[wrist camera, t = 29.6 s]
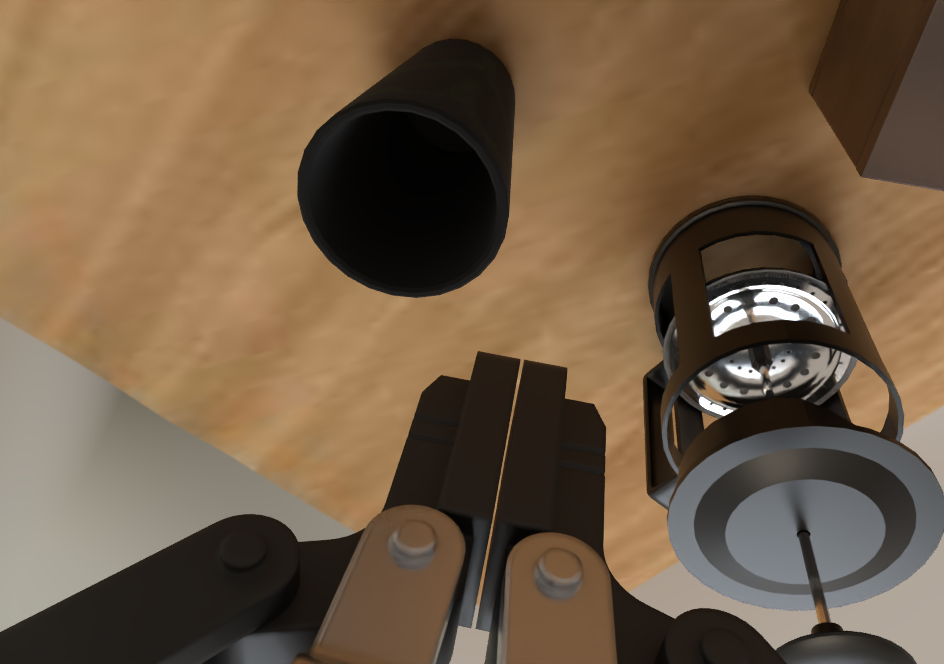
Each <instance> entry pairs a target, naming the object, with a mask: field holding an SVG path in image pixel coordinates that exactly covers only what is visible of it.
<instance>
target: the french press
mask: <svg viewBox="0 0 944 664" xmlns="http://www.w3.org/2000/svg"><path fill="white" fill-rule="evenodd" d="M755 234H757V235H776V236H781V237H785V238H790V239H794V240H796V241H798V242H799V243H800V244H801V245H802V246H803V247H804V248H805V250H806V251H807V252H808V254H809V256H810V258H811V260H812V264H813V267H814V276H812V275H809V274H806V273H803V272H800V271H795V270H790V269H785V268H770V267H761V268H752V269H744V270H740V271H736V272H732V273H728V274H725V275H723V276H720V277H718V278H715V279H713V280H711V281H709V282H707V283H706V280H705V275H704V269H703V263H702V257H701V250H703V249H705V248H707V247H709V246H712V245H714V244H716V243H718V242H721V241H724V240H728V239H731V238H734V237H740V236H748V235H755ZM648 289H649V297H650V303H651V306H652V308H653V311H654V317H655V325H656V332H657V335H658V337H659V340H660V343H661V345H662V347H663V359H664V360H662V361H661V362H660V363H659V364H657V365H656V366H655V367H654V368H653V369H651V370H650V371H649V372H648V373H647V374H646V375H645V376H644V378H643V399H644V427H645V455H646V483H647V494H648V495H649V496H650V497H651V498H652V499H653V500H655V501H656V502H657V503H659V504H660V505H662V506H663V507H664V508H666V509H667V510H668V514H667V524H668V531H669V539H670V542H671V544H672V547H673V549H674V551H675V554H676V556H677V557H678V559H679V560H680V561H681V563H682V564H683V565H684V566H685V567H686V569H687V570H688V571H689V572H690V573H691V574H692V575H693V576H694V577H696V578H697V579H698V580H699V581H701V582H702V583H703V584H704V585H706V586H708V587H710V588H711V589H713V590H715V591H716V592H718V593H720V594H722V595H724V596H727V597H730V598H732V599H734V600H737V601H740V602H743V603H746V604H751V605H755V606H759V607H763V608H771V609H779V610H789V611H793V610H795V611H799V610H816V613H817V618H818V622H819V624H817V625H815V626H814V627H813V628H812V630H811V634H810V635H806V636H802V637H799V638H797V639H794V640H792V641H789V642H787V643H786V644H784V645H782V646H781V647H779V648H777V650H775V651H776V652H777V653H778V654H779V655H780V656H781V657H782V659H783V660H784V661H785V662H786V663H787V664H917V663H916V662H915V660H914V659H913V657H912V656H911V655H910V654H909V653H908V652H907V651H905V650H904V649H903V648H902V647H900V646H898V645H897V644H895V643H893V642H892V641H889V640H887V639H884V638H882V637H879V636H875V635H871V634H867V633H862V632H853V631H843V629H842V627H841V626H840V625H838V624H836V623H831V620H830V615H829V611H828V608H835V607H842V606H846V605H849V604H853V603H857V602H861V601H864V600H867V599H869V598H872V597H874V596H877V595H879V594H881V593H884V592H886V591H888V590H890V589H892V588H893V587H895V586H897V585H898V584H899V583H902V582H903V581H905V580H907V579H908V578H909V577H910V576H912V575H913V574H914V573H915V572H916V571H917V570H918V569H919V568H920V567H922V566H923V565H924V564H925V563H926V562H927V560H928V559H929V558H930V556H931V555H932V554H933V552H934V551H935V550H936V548H937V547H938V544H939V542H940V540H941V537H942V535H943V533H944V494H943V491H942V489H941V486H940V485H939V483H938V481H937V479H936V477H935V475H934V473H933V472H932V470H931V468H930V467H929V466H928V465H927V464H926V463H925V462H924V461H923V460H922V459H921V458H920V457H919V456H918V454H917V453H916V452H914V451H912V450H911V449H909V448H908V447H907V446H905V445H904V444H902V443H900V440H901V437H902V434H903V424H904V413H903V408H902V404H901V399H900V396H899V394H898V392H897V390H896V388H895V385H894V383H893V381H892V379H891V377H890V375H889V373H888V371H887V369H886V367H885V365H884V364H883V362H882V360H881V357H880V355H879V353H878V351H877V349H876V346H875V344H874V342H873V340H872V338H871V335H870V333H869V331H868V329H867V327H866V324H865V322H864V320H863V318H862V316H861V313H860V311H859V309H858V307H857V304H856V302H855V300H854V298H853V296H852V293H851V291H850V289H849V287H848V283H847V280H846V278H845V276H844V273H843V271H842V264H841V260H840V256H839V251H838V248H837V246H836V244H835V242H834V240H833V238H832V236H831V235H830V233H829V231H828V230H827V229H826V228H825V227H824V226H823V224H822V223H821V222H820V221H819V220H818V219H817V218H815V217H814V216H813V215H811V214H810V213H808V212H807V211H805V210H804V209H802V208H800V207H798V206H795V205H793V204H791V203H788V202H786V201H782V200H778V199H773V198H768V197H748V196H747V197H739V198H732V199H726V200H723V201H720V202H717V203H714V204H710V205H708V206H706V207H704V208H702V209H700V210H698V211H696V212H694V213H692V214H690V215H689V216H688V217H687V218H685V219H684V220H683V221H681V222H680V223H679V224H677V225H676V226H675V227H674V228H673V229H672V231H671V232H670V233H669V234H668V235H667V236H666V237H665V238H664V240H663V241H662V243H661V245H660V246H659V248H658V250H657V251H656V253H655V255H654V258H653V261H652V264H651V267H650V271H649V281H648ZM857 359H858V360H860V361H861V362H863V363H864V364H866V365H867V366H869V367H870V368H872V369H873V370H874V371H875V372H876V373H877V374H878V375H879V376H880V377H881V378H882V380H883V381H884V382H885V383H886V384H887V387H888V391H889V412H888V415H887V418H886V421H885V424H884V427H883V429H882V431H881V432H880V433H879V432H877V431H875V430H872V429H869V428H865V427H860V426H856V425H854V424H853V423H851V420H850V418H849V415H848V412H847V409H846V406H845V404H844V401H843V398H842V395H841V393H840V390H839V389H840V387H841V386H842V385H843V384H844V383H845V382H846V380H847V379H848V378H849V376H850V374H851V372H852V370H853V369H854V367H855V365H856V362H857ZM673 405H674V410H675V422H676V433H677V445H678V449H677V448H676V446H675V444H674V432H673V419H672V407H673ZM702 412H703V413H706V414H708V415H711V416H713V417H716V418H718V420H716V421H714V422H713V423H711V424H710V425H709V426H708V427H707V428H706V429H705V430H704V426H703V418H702Z"/></svg>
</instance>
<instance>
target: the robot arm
mask: <svg viewBox="0 0 944 664" xmlns="http://www.w3.org/2000/svg"><path fill="white" fill-rule="evenodd" d="M519 365H520V359H517V358H512V357H506V356H501V355H496V354H490V353H485V352H480V351H478V353H477V356H476V360H475V364H474V368H473V372H472V376H471V380H470V381H469V380H464V379H459V378H454V377H448V376H443V375H441V376H439V377H438V378H437V379H436V380H435V381H434V382H433V383H432V384H431V385H430V386H428V387H427V388H426V389H425V390H424V391H423V392H422V394H421V397H420V400H419V403H418V406H417V409H416V412H415V416H414V419H413V422H412V425H411V428H410V431H409V435H408V437H407V440H406V443H405V446H404V449H403V452H402V455H401V458H400V461H399V464H398V467H397V470H396V473H395V476H394V479H393V482H392V485H391V488H390V491H389V494H388V497H387V501H386V503H385V506H384V508H383V510H382V512H381V513H380V514H378V515H377V516H376V517H374V518H373V519H372V520H371V521H370V522H369V524H368V525H367V526H366V528H364V529H362V530H361V531H359V532H357V533H354V534H352V535H349V536H347V537H342V538H339V539H331V540H320V541H307V542H298V541H297V539H296V537H295V535H294V534H293V532H292V531H291V530H290V529H289V528H288V527H287V526H286V525H285V524H283V523H282V522H280V521H278V520H276V519H273V518H271V517H267V516H263V515H255V514H244V515H237V516H232V517H229V518H226V519H223V520H221V521H218V522H216V523H214V524H212V525H210V526H208V527H206V528H204V529H202V530H200V531H199V532H196V533H194V534H192V535H190V536H188V537H187V538H184V539H183V540H180V541H179V542H177V543H175V544H173V545H171V546H169V547H167V548H165V549H163V550H161V551H159V552H157V553H155V554H153V555H151V556H149V557H147V558H145V559H143V560H141V561H139V562H137V563H135V564H133V565H131V566H129V567H128V568H125V569H123V570H122V571H120V572H118V573H116V574H114V575H112V576H110V577H108V578H106V579H104V580H102V581H100V582H98V583H96V584H94V585H92V586H90V587H88V588H86V589H84V590H82V591H80V592H78V593H76V594H74V595H72V596H70V597H68V598H67V599H65V600H63V601H61V602H59V603H57V604H55V605H53V606H51V607H49V608H47V609H45V610H43V611H41V612H39V613H37V614H35V615H33V616H31V617H29V618H27V619H25V620H23V621H21V622H19V623H17V624H16V625H14V626H11V627H9V628H8V629H6V630H4V631H2V632H0V664H449V662H450V660H451V657H452V654H453V649H454V644H455V639H456V634H457V628H458V626H463V627H468V628H471V626H472V621H473V616H474V611H475V606H476V601H477V596H478V591H479V586H480V580H481V575H482V570H483V565H484V560H485V555H486V550H487V545H488V539H489V534H490V529H491V524H492V519H493V513H494V508H495V502H496V496H497V491H498V485H499V479H500V473H501V468H502V462H503V456H504V451H505V445H506V439H507V434H508V428H509V422H510V417H511V411H512V405H513V399H514V394H515V388H516V382H517V377H518V371H519ZM566 381H567V368H566V367H560V366H555V365H550V364H544V363H539V362H534V361H529V360H524V364H523V369H522V374H521V379H520V384H519V389H518V394H517V399H516V404H515V410H514V415H513V420H512V425H511V430H510V435H509V440H508V446H507V451H506V457H505V462H504V468H503V474H502V480H501V485H500V491H499V497H498V503H497V509H496V514H495V520H494V526H493V532H492V538H491V543H490V549H489V555H488V561H487V567H486V572H485V578H484V584H483V590H482V595H481V601H480V607H479V613H478V619H477V624H476V629H479V630H484V631H488V632H490V633H489V640H488V646H487V652H486V659H485V663H484V664H787V663H786V662H785V661H784V660H783V659H782V657H781V656H780V655H779V654H778V653H777V652H776V651H775V650H774V649H773V648H772V647H771V646H770V644H769V643H768V642H767V641H766V640H765V639H764V638H763V637H762V635H760V634H759V633H758V632H757V631H756V630H755V629H754V628H753V627H752V626H750V625H749V624H748V623H747V622H745V621H743V620H741V619H740V618H738V617H736V616H734V615H732V614H730V613H727V612H724V611H720V610H716V609H709V608H699V609H693V610H690V611H687V612H684V613H683V614H681V615H679V616H678V617H677V618H676V619H674V618H672V617H670V616H668V615H666V614H664V613H662V612H660V611H658V610H656V609H654V608H652V607H650V606H648V605H646V604H645V603H643V602H641V601H639V600H638V599H636V598H635V597H633V596H632V595H631V594H629V593H628V592H627V591H626V590H625V589H624V588H623V587H622V586H621V585H620V584H619V583H618V582H617V581H616V579H615V578H614V577H613V575H612V573H611V572H610V570H609V568H608V566H607V564H606V561H605V557H604V550H603V536H604V493H605V476H604V473H605V450H606V426H605V424H604V423H603V421H602V419H601V417H600V415H599V413H598V411H597V409H596V407H595V405H594V404H591V403H586V402H581V401H575V400H570V399H565V391H566Z"/></svg>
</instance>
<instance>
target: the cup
mask: <svg viewBox="0 0 944 664" xmlns="http://www.w3.org/2000/svg"><path fill="white" fill-rule="evenodd" d="M514 114H515V95H514V87H513V84H512V81H511V78H510V75H509V73H508V72H507V70H506V68H505V67H504V65H503V63H502V62H501V61H500V60H499V59H498V58H497V57H496V56H495V55H494V54H493V53H492V52H490V51H489V50H487V49H486V48H484V47H482V46H481V45H479V44H476V43H473V42H470V41H467V40H458V39H448V40H443V41H438V42H435V43H433V44H431V45H429V46H427V47H425V48H423V49H422V50H421V51H419V52H418V53H417V54H415V55H414V56H412V57H411V58H410V59H408V60H407V61H406V62H404V63H403V64H402V65H400V66H399V67H398V68H396V69H395V70H394V71H392V72H391V73H390V74H388V75H387V76H386V77H384V78H383V79H382V80H380V81H379V82H378V83H376V84H375V85H374V86H372V87H371V88H370V89H368V90H367V91H366V92H364V93H363V94H361V95H360V96H359V97H357V98H356V99H355V100H353V101H352V102H351V103H349V104H348V105H347V106H345V107H344V108H343V109H341V110H340V111H339V112H337V113H336V114H335V115H334V116H333V117H331V118H330V119H329V120H328V121H327V122H326V123H325V124H323V125H322V126H321V127H320V128H319V129H318V130H317V131H316V133H315V134H314V136H313V137H312V139H311V141H310V142H309V144H308V145H307V147H306V148H305V150H304V153H303V157H302V160H301V164H300V167H299V170H298V192H297V196H298V201H299V205H300V209H301V214H302V218H303V221H304V223H305V225H306V227H307V229H308V231H309V233H310V235H311V237H312V239H313V241H314V242H315V244H316V245H317V246H318V247H319V249H320V250H321V251H322V253H323V254H324V255H325V256H326V258H327V259H328V260H329V261H330V262H331V263H332V264H334V265H335V266H336V267H337V268H338V269H340V270H341V271H342V272H343V273H344V274H346V275H347V276H348V277H350V278H352V279H354V280H355V281H357V282H359V283H361V284H363V285H364V286H366V287H368V288H370V289H374V290H377V291H380V292H383V293H386V294H390V295H394V296H404V297H413V298H419V297H427V296H436V295H441V294H444V293H447V292H450V291H453V290H455V289H458V288H461V287H462V286H464V285H465V284H467V283H469V282H470V281H472V280H473V279H475V278H476V277H478V276H479V275H480V274H481V273H482V272H483V271H484V270H485V269H486V267H487V266H488V265H489V264H490V263H491V262H492V261H493V260H494V258H495V257H496V254H497V252H498V250H499V248H500V246H501V244H502V242H503V240H504V238H505V234H506V228H507V223H508V218H509V206H510V188H511V169H512V151H513V133H514Z"/></svg>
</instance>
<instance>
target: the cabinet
mask: <svg viewBox="0 0 944 664" xmlns="http://www.w3.org/2000/svg"><path fill="white" fill-rule="evenodd" d="M809 93H810V95H811V96H812V97H813V99H814V101H815V102H816V104H817V105H818V107H819V109H820V110H821V112H822V114H823V115H824V117H825V118H826V120H827V122H828V123H829V125H830V126H831V128H832V130H833V131H834V133H835V135H836V136H837V138H838V139H839V141H840V143H841V144H842V146H843V148H844V149H845V151H846V152H847V154H848V156H849V157H850V159H851V160H852V162H853V164H854V165H855V167H856V170H857V171H858V173H859V175H860V176H861V177H865V178H871V179H876V180H882V181H888V182H894V183H900V184H906V185H911V186H917V187H923V188H929V189H935V190H941V191H944V0H841V3H840V6H839V9H838V11H837V14H836V17H835V20H834V22H833V25H832V28H831V31H830V33H829V36H828V39H827V42H826V44H825V47H824V50H823V53H822V55H821V58H820V61H819V64H818V66H817V69H816V72H815V75H814V77H813V80H812V83H811V86H810V88H809Z"/></svg>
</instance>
